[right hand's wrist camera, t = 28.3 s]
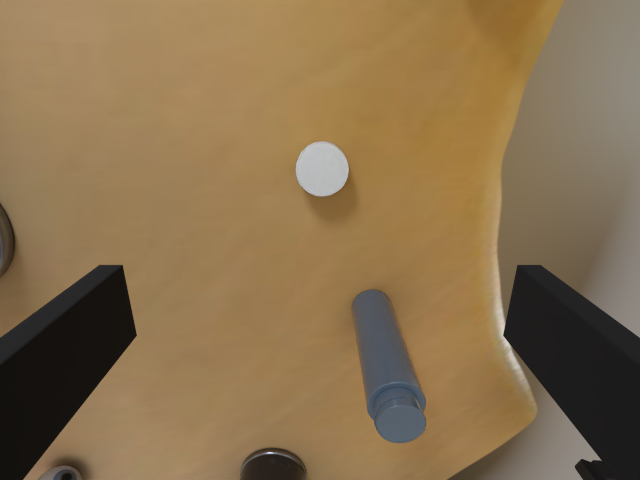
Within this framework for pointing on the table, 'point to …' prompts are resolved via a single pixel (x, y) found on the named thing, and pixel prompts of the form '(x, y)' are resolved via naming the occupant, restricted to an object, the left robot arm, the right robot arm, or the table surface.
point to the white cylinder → (322, 169)
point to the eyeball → (61, 474)
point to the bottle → (387, 370)
